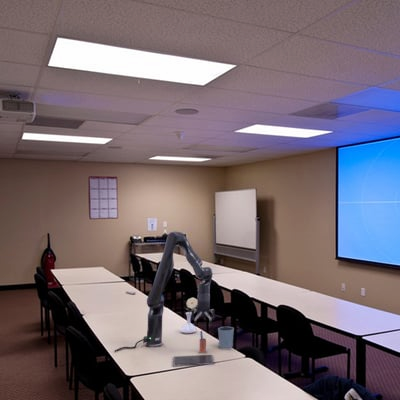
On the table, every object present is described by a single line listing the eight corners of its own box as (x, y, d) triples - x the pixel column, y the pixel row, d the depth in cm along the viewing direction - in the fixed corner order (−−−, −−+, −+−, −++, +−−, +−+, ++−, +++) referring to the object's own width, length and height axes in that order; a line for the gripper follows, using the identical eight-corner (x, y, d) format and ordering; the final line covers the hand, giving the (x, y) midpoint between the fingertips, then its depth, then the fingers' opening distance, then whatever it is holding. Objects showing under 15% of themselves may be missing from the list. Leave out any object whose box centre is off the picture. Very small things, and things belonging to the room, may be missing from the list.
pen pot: (199, 353, 257) (199, 340, 257) (199, 351, 260) (199, 338, 261) (205, 353, 257) (206, 340, 258) (205, 351, 261) (205, 338, 261)
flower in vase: (177, 333, 299) (177, 297, 300) (186, 329, 310) (186, 295, 310) (193, 335, 294) (193, 299, 295) (201, 331, 305) (202, 296, 305)
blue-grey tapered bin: (221, 350, 263) (221, 331, 263) (215, 346, 272) (215, 327, 272) (236, 348, 268) (236, 329, 268) (230, 343, 276) (230, 325, 277)
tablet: (173, 366, 235) (173, 364, 235) (174, 357, 249) (174, 356, 249) (213, 364, 239) (213, 362, 239) (211, 355, 253) (211, 354, 253)
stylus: (201, 351, 258) (200, 331, 257) (201, 351, 260) (200, 330, 258) (203, 351, 259) (202, 331, 257) (203, 350, 260) (202, 330, 259)
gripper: (214, 298, 265) (214, 324, 264) (191, 298, 262) (190, 325, 262) (215, 301, 257) (214, 327, 257) (191, 301, 255) (191, 328, 254)
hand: (202, 326), depth 259 cm, fingers open, 8 cm apart
